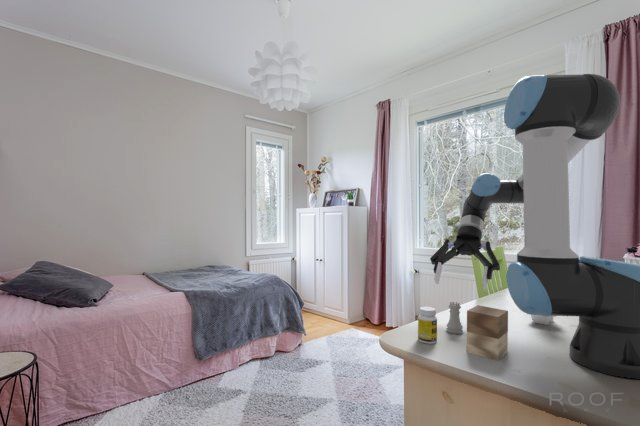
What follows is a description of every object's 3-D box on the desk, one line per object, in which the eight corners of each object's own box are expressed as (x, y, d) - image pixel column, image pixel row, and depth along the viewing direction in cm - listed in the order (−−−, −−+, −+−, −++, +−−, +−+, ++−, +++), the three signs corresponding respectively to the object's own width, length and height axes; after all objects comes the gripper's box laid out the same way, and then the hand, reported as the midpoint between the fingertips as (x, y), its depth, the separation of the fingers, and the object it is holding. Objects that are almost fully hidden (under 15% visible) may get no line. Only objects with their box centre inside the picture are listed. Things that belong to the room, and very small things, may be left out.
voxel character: (557, 301, 110) (556, 267, 103) (555, 331, 102) (554, 297, 95) (531, 297, 114) (528, 264, 107) (528, 326, 107) (524, 293, 99)
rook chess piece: (464, 335, 93) (464, 305, 93) (447, 333, 94) (447, 304, 94) (461, 329, 98) (461, 301, 98) (444, 328, 99) (445, 300, 99)
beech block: (507, 352, 82) (507, 331, 82) (497, 361, 77) (498, 339, 77) (477, 344, 87) (477, 324, 87) (466, 352, 82) (466, 331, 82)
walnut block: (507, 331, 82) (508, 310, 82) (498, 339, 77) (498, 317, 77) (477, 324, 87) (477, 305, 87) (466, 331, 82) (466, 310, 82)
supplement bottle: (434, 345, 86) (434, 312, 86) (415, 341, 88) (415, 309, 88) (438, 339, 90) (439, 307, 90) (420, 336, 92) (421, 305, 92)
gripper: (513, 241, 110) (507, 297, 98) (434, 237, 124) (421, 286, 112) (511, 225, 106) (505, 281, 94) (430, 223, 120) (415, 272, 108)
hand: (459, 284), depth 103 cm, fingers open, 13 cm apart
